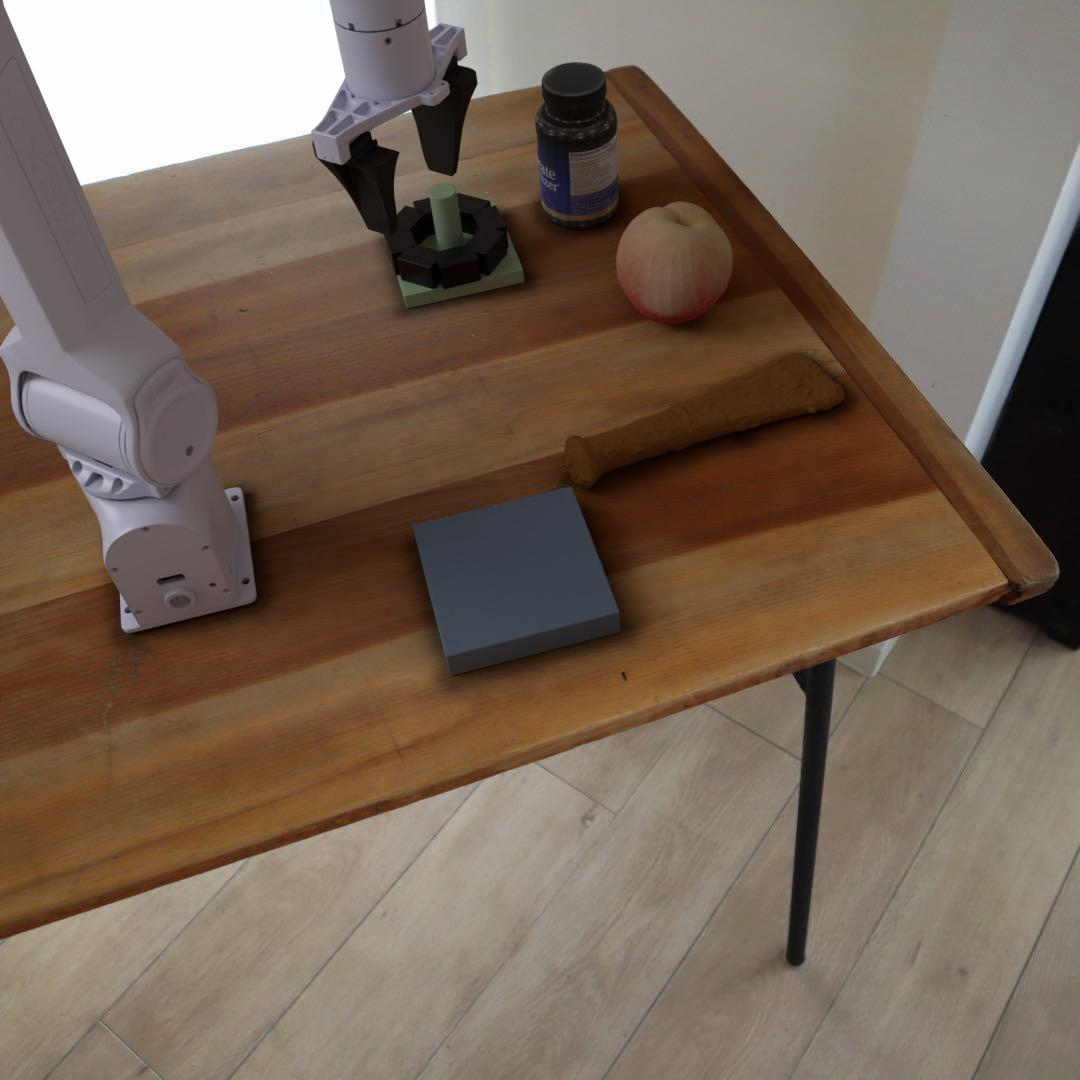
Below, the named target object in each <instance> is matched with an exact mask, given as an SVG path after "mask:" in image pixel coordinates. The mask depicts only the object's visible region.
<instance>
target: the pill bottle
mask: <svg viewBox="0 0 1080 1080" xmlns="http://www.w3.org/2000/svg"><path fill="white" fill-rule="evenodd" d="M607 86H608V85H607V76H606V73H605V72H604V70H603V69H602V68H601V67H599V66H597V65H595V64H592V63H589V62H581V61H572V62H571V61H570V62H565V63H561V64H558V65H555V66H552V67H551V68H550V69H548V70H546V72H545V73H544V74H543V76H542V77H541V98H542V100H543V101H544V102H543V103H542V104H541V105H540V106H539V108H538V110H537V111H536V114H535V117H534V126H535V138H536V139H535V140H536V150H537V152H536V153H537V162H538V176H539V188H540V202H541V203H540V204H541V209H542V212H543V214H544V215H545V217H547V219H548V220H549V221H551V222H552V223H554V224H556V225H559V226H562V227H564V228H568V229H587V228H590V227H595V226H598V225H600V224H603V223H605V222H606V221H608V220H609V219H610V218H612V217H613V215H614V214H615V212H616V211H617V210H618V206H619V201H620V200H619V157H618V155H619V153H618V152H619V151H618V116H617V111H616V109H615V107H614V105H613V103H612V102H611V101H610V100H608V98H606V96H607V92H608V87H607Z"/></svg>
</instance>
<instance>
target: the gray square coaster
mask: <svg viewBox="0 0 1080 1080" xmlns="http://www.w3.org/2000/svg"><path fill="white" fill-rule="evenodd" d="M412 530H413V534H414V538H415V542H416V546H417V550H418V554H419V558H420V562H421V567H422V570H423V574H424V578H425V582H426V586H427V590H428V595H429V597H430V601H431V606H432V610H433V613H434V618H435V622H436V625H437V630H438V634H439V638H440V642H441V646H442V649H443V653H444V658H445V661H446V665H447V669H448V673H449V676H450V677H451V676H457V675H461V674H464V673H468V672H472V671H475V670H479V669H483V668H488V667H491V666H494V665H499V664H502V663H506V662H510V661H514V660H518V659H522V658H527V657H531V656H533V655H538V654H542V653H545V652H549V651H553V650H556V649H561V648H563V647H565V648H566V647H568V646H573V645H577V644H579V643H583V642H587V641H591V640H595V639H600V638H603V637H606V636H611V635H615V634H618V633H621V611H620V609H619V607H618V604H617V602H616V598H615V596H614V593H613V590H612V588H611V585H610V583H609V581H608V577H607V574H606V571H605V570H604V567H603V564H602V561H601V559H600V556H599V553H598V551H597V548H596V546H595V543H594V540H593V538H592V535H591V533H590V530H589V527H588V525H587V522H586V519H585V517H584V514H583V511H582V509H581V506H580V504H579V500H578V498H577V496H576V493H575V490H574V488H573V486H572V485H571V486H566V487H563V488H562V487H561V488H557V489H555V490H554V489H553V490H550V491H546V492H541V493H537V494H534V495H529V496H526V497H522V498H516V499H513V500H509V501H505V502H500V503H497V504H492V505H488V506H485V507H480V508H477V509H476V508H475V509H471V510H468V511H464V512H461V513H456V514H452V515H448V516H444V517H439V518H435V519H431V520H427V521H422V522H419V523H415V524H412Z"/></svg>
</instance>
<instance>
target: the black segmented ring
mask: <svg viewBox="0 0 1080 1080" xmlns="http://www.w3.org/2000/svg"><path fill="white" fill-rule="evenodd" d="M457 198H458V205H459V212H460V218H461V225H462V232H463V233H467V234H470V235H474V236H473V237H472V238H471V239H470V240H469V242H468V243H467V244H465V245H461V246H457V247H453V248H449V249H445V250H441V251H437V250H434V249H430V248H427V247H423V246H419V245H420V244H421V243H422V242H423V241H424V240H425V238H426V237H427V236H429V235H433V234H436V232H435V226H434V220H433V214H432V208H431V202H430V197H426V198H422V199H417V200H413V201H412V206H410V205H404V206H403V207H402V208H401V209H400V210H399V212H397V231H396V232H395V233H394V234H393V235H392V236H388V235H384V234H383V239H384V242H385V243H384V244H385V247H386V252H387V256H388V258H389V261H390V264H391V266H392V269H393V272H394V274H395V276H397V275H401V280H403V281H407V282H410V283H413V284H417V285H420V286H424V287H427V288H431V289H435V288H436V287H437V286H438V285H439V284H440V282H441V285H442V287H443V289H448V288H452V287H456V286H460V285H464V284H468V283H472V282H476V281H480V280H481V274H484V275H488V276H489V275H490V274H491V273H492V271H493V270H494V269H495V268H496V267H497V266H498V264H499V263H500V262H501V261H502V260H503V258H504V257H505V256H506V255H507V248H508V247H509V245H508V236H507V232H508V229H507V225H506V222H505V220H504V218H503V216H502V214H501V212H500V210H499V207H498V205H497V204H496V205H497V206H496V205H494V206H491V203H492V202H491V200H489V199H484V198H480V197H477V196H473V195H470V194H469V195H468V194H465V193H462V192H461V193H460V192H457ZM497 207H498V208H497Z"/></svg>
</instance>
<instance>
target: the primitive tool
mask: <svg viewBox="0 0 1080 1080" xmlns="http://www.w3.org/2000/svg"><path fill="white" fill-rule="evenodd" d="M844 400H845V391H844V389H843V388H842V386H841V385H839V384H838V383H837V382H836V381H834V379H832V378H831V376H829V375H828V374H827V373H826V372H825V371H824V370H822V368H821V367H820V366H818V365H817V364H816V363H815V362H814V361H813V360H812V359H811V358H809V356H807V355H806V354H804V353H802V352H792V353H790V354H786V355H782V356H779V357H778V358H777V359H775V360H772V361H770V362H769V363H767V364H765V365H762V366H761V367H759V368H756V369H755V370H753V371H751V372H749V373H747V374H745V375H742V376H740V377H738V378H736V379H734V380H732V381H729V382H725V383H723V384H720V385H718V386H715V387H713V388H711V389H708V390H706V391H704V392H702V393H701V394H699V395H696V396H694V397H692V398H689V399H686V400H683V401H676V402H674V403H672V404H670V405H669V406H668V407H667V408H665V409H663V410H661V411H659V412H657V413H654V414H650V415H647V416H643V417H640V418H638V419H635V420H633V421H631V422H629V423H627V424H625V425H622V426H617V427H615V428H613V429H611V430H608V431H603V432H600V433H596V434H594V435H591V436H586V437H582V436H580V435H578V434H577V435H576V434H575V435H574V434H571V435H569V436H567V438H566V440H565V443H564V451H563V452H564V453H563V457H564V462H565V468H566V470H567V472H568V474H569V476H570V477H571V479H572V481H573V482H574V483H575V484H576V486H577V487H579V488H582V489H591V488H592V487H593V486H594V485H595V484H596V482H597V481H598V479H599V478H600V476H601V475H603V474H605V473H608V472H611V471H613V470H616V469H617V470H618V469H620V468H622V467H626V466H630V465H631V464H635V463H636V462H640V461H643V460H644V459H649V458H655V457H658V456H659V455H662V454H665V453H667V452H669V451H675V452H680V451H681V450H683V449H686V448H688V447H690V446H692V445H695V444H698V443H701V442H705V441H709V440H711V439H716V438H718V437H720V436H724V435H727V434H732V433H735V432H743V431H746V430H748V429H750V428H751V429H755V428H758V427H759V426H761V425H766V424H767V425H768V424H770V423H772V422H777V421H781V420H782V421H783V420H785V419H789V418H794V417H798V416H802V415H807V414H816V413H817V412H818V411H823V412H826V411H830V410H831V409H832V408H833V407H835V406H838V405H840V404H841V403H842V402H843V401H844Z"/></svg>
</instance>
